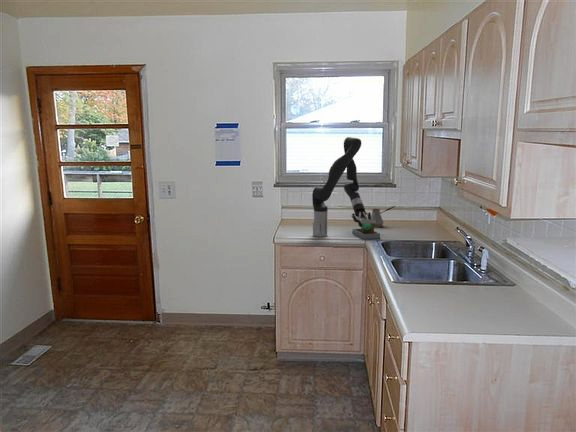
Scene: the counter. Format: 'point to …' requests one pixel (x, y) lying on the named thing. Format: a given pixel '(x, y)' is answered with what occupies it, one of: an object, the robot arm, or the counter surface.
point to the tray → (365, 236)
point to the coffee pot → (378, 216)
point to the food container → (367, 226)
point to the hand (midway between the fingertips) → (365, 226)
